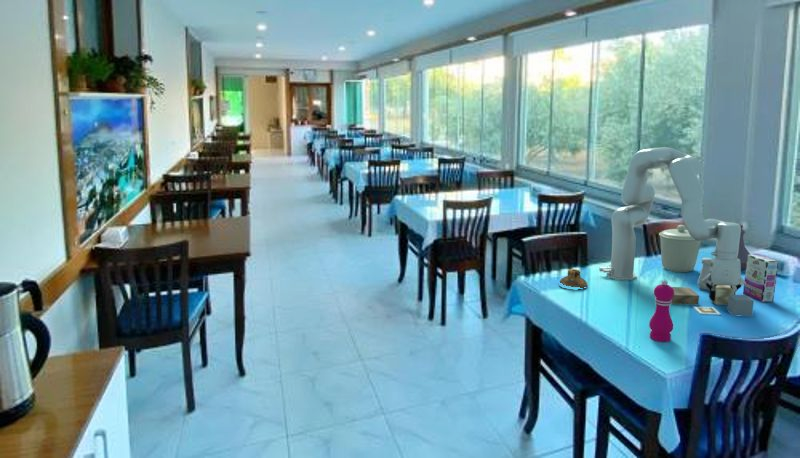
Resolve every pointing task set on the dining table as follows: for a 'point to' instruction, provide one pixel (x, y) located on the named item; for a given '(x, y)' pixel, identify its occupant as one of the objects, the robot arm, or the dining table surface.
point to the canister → (678, 249)
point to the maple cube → (722, 294)
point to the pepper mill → (662, 313)
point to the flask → (742, 251)
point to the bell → (574, 279)
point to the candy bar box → (760, 278)
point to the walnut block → (684, 296)
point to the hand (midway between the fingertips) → (721, 299)
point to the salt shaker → (704, 273)
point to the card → (707, 310)
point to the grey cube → (740, 305)
